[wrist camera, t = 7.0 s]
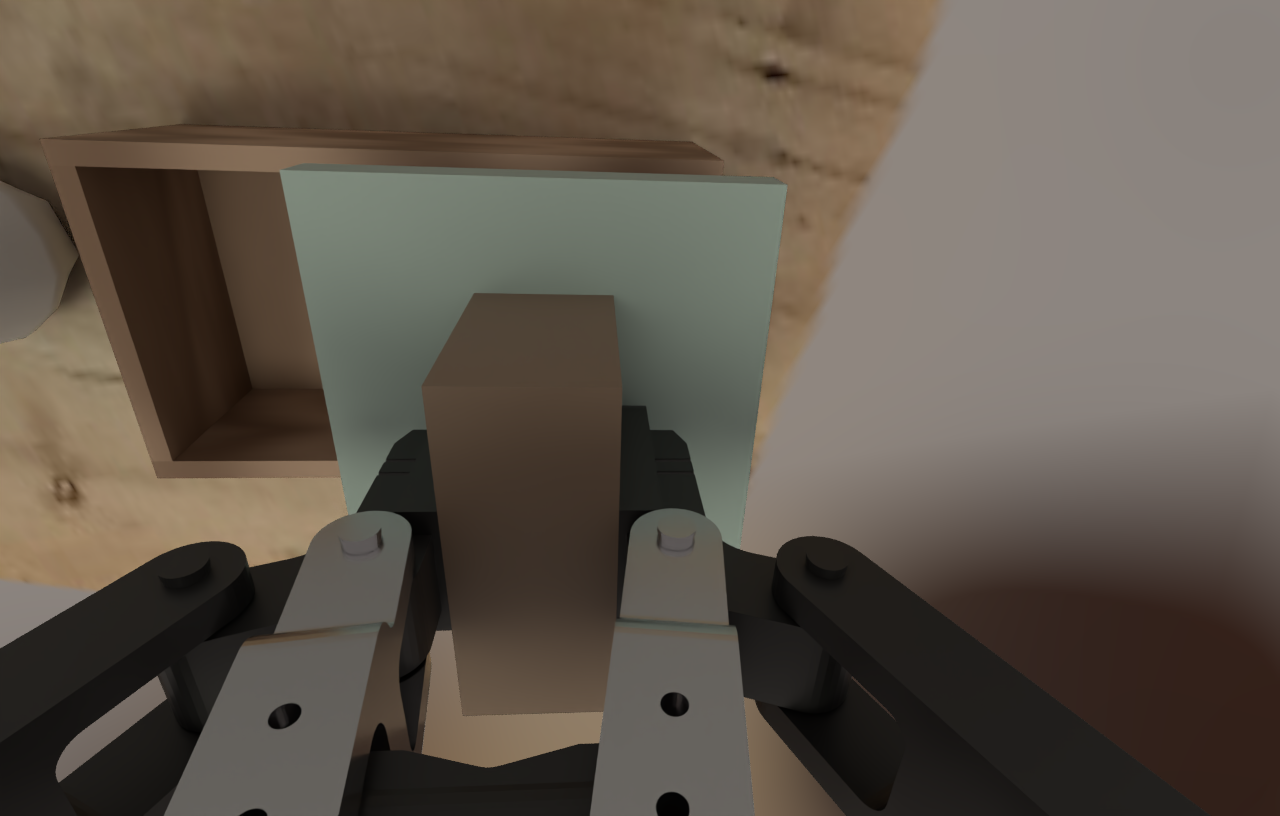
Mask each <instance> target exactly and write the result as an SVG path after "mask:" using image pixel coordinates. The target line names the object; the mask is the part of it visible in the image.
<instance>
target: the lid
mask: <svg viewBox="0 0 1280 816" xmlns="http://www.w3.org/2000/svg"><path fill="white" fill-rule="evenodd" d="M280 175H281V180H282V185H283V190H284V195H285V200H286V205H287V210H288V215H289V220H290V225H291V230H292V235H293V240H294V245H295V250H296V255H297V260H298V265H299V270H300V275H301V280H302V285H303V290H304V295H305V300H306V305H307V310H308V315H309V320H310V325H311V330H312V335H313V340H314V345H315V350H316V355H317V360H318V365H319V370H320V375H321V380H322V385H323V390H324V395H325V400H326V405H327V410H328V415H329V420H330V425H331V430H332V435H333V440H334V445H335V450H336V455H337V460H338V465H339V470H340V475H341V480H342V485H343V490H344V495H345V500H346V505H347V510H348V515H351V514H355V513H356V512H357V510H358V508H359V507H360V505H361V503H362V501H363V499H364V498H365V496H366V494H367V492H368V490H369V488H370V487H371V485H372V483H373V481H374V479H375V478H376V476H377V475H379V470H380V468H381V467H382V465H383V463H384V462H386V458H387V456H388V454H389V452H390V450H391V448H392V447H393V445H394V443H395V442H397V441H398V440H399V439H401V438H402V437H404V436H405V435H406V434H408V433H409V432H410V431H412V430H427V436H428V444H429V452H430V460H431V468H432V476H433V484H434V491H435V499H436V507H437V515H438V523H439V531H440V539H441V547H442V555H443V563H444V571H445V579H446V587H447V595H448V603H449V611H450V619H451V627H452V634H453V642H454V650H455V658H456V666H457V674H458V682H459V690H460V698H461V706H462V714H463V716H477V715H507V714H508V715H510V714H542V713H574V712H604V704H605V697H606V689H607V682H608V674H609V667H610V659H611V651H612V644H613V636H614V629H615V623H616V610H617V572H618V534H619V495H620V457H621V419H622V405H630V406H646V408H647V414H648V421H649V427H650V430H673V431H674V432H675V433H676V434H678V435H679V436H680V437H681V438H682V439H683V440H684V441H685V442H686V443H687V446H688V450H689V454H690V458H691V462H692V466H693V469H694V474H695V477H696V481H697V485H698V489H699V493H700V497H701V501H702V504H703V508H704V512H705V516H706V518H708V519H710V520H711V521H712V522H713V523H714V524H715V525H716V526H717V527H718V528H719V530H720V532H721V536H722V541H724V542H725V543H727V544H729V545H731V546H733V547H735V548H737V549H740V544H741V535H742V529H743V521H744V514H745V505H746V498H747V491H748V483H749V475H750V468H751V460H752V452H753V445H754V437H755V430H756V422H757V414H758V407H759V399H760V391H761V384H762V376H763V369H764V361H765V353H766V346H767V338H768V330H769V323H770V315H771V307H772V300H773V292H774V285H775V277H776V269H777V262H778V254H779V246H780V239H781V231H782V224H783V216H784V208H785V201H786V193H787V184H785V183H783V182H781V181H779V180H778V179H776V178H774V177H751V176H717V175H684V174H651V173H617V172H584V171H551V170H517V169H484V168H451V167H417V166H384V165H351V164H317V163H302V164H299V165H295V166H292V167H288V168H285V169H281V170H280Z"/></svg>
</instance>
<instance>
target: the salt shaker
mask: <svg viewBox="0 0 1280 816" xmlns="http://www.w3.org/2000/svg"><path fill="white" fill-rule="evenodd" d="M78 256H79V253H78V251H77V250H76V248H75V246H74V245H73V243H72V241H71V240H70V238H69V236H68V234H67V233H66V231H65V229H64V228H63V226H62V224H61V223H60V221H59V219H58V218H57V216H56V214H55V213H54V211H53V209H52V208H51V206H50V204H49V202H48V201H46V200H44V199H41V198H39V197H37V196H34V195H32V194H29V193H27V192H25V191H22V190H20V189H18V188H15V187H13V186H11V185H9V184H6V183H4V182H2V181H0V343H4V342H9V341H13V340H17V339H22V338H26V337H27V336H28V335H30V334H31V333H33V332H34V331H35V330H37V329H38V328H39V327H40V326H41V325H42V324H43V323H44V322H45V321H46V320H47V319H48V318H49V317H50V316H51V315H52V314H53V313H54V312H55V310H56V309H57V308H58V307H59V304H60V301H61V298H62V295H63V292H64V289H65V286H66V283H67V280H68V277H69V274H70V272H71V270H72V268H73V266H74V264H75V262H76V260H77V258H78Z"/></svg>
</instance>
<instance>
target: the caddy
mask: <svg viewBox="0 0 1280 816" xmlns="http://www.w3.org/2000/svg"><path fill="white" fill-rule="evenodd" d="M40 142H41V145H42V148H43V151H44V154H45V157H46V160H47V162H48V165H49V168H50V171H51V174H52V177H53V180H54V183H55V185H56V188H57V191H58V194H59V197H60V200H61V203H62V206H63V208H64V211H65V214H66V217H67V220H68V223H69V226H70V229H71V231H72V234H73V237H74V240H75V243H76V246H77V249H78V251H79V254H80V257H81V260H82V263H83V266H84V269H85V272H86V274H87V277H88V280H89V283H90V286H91V289H92V292H93V295H94V297H95V300H96V303H97V306H98V309H99V312H100V315H101V318H102V320H103V323H104V326H105V329H106V332H107V335H108V338H109V341H110V343H111V346H112V349H113V352H114V355H115V358H116V361H117V364H118V366H119V369H120V372H121V375H122V378H123V381H124V384H125V387H126V389H127V392H128V395H129V398H130V401H131V404H132V407H133V410H134V412H135V415H136V418H137V421H138V424H139V427H140V430H141V433H142V435H143V438H144V441H145V444H146V447H147V450H148V453H149V456H150V458H151V461H152V464H153V467H154V470H155V473H156V476H157V478H308V477H341V475H340V470H339V465H338V460H337V455H336V450H335V445H334V440H333V435H332V430H331V425H330V420H329V415H328V410H327V405H326V400H325V395H324V390H323V385H322V380H321V375H320V370H319V365H318V360H317V355H316V350H315V345H314V340H313V335H312V330H311V325H310V320H309V315H308V310H307V305H306V300H305V295H304V290H303V285H302V280H301V275H300V270H299V265H298V260H297V255H296V250H295V245H294V240H293V235H292V230H291V225H290V220H289V215H288V210H287V205H286V200H285V195H284V190H283V185H282V180H281V175H280V170H281V169H285V168H288V167H292V166H295V165H299V164H302V163H317V164H351V165H384V166H417V167H451V168H484V169H517V170H551V171H584V172H617V173H651V174H684V175H717V176H723V168H724V161H723V160H722V159H720V158H718V157H717V156H715V155H713V154H711V153H710V152H708V151H706V150H705V149H703V148H701V147H700V146H698V145H696V144H695V143H693V142H680V141H651V140H622V139H593V138H564V137H535V136H506V135H477V134H448V133H419V132H390V131H361V130H332V129H303V128H274V127H245V126H216V125H187V124H179V125H169V126H159V127H149V128H140V129H130V130H120V131H111V132H101V133H91V134H82V135H72V136H62V137H53V138H43V139H40Z"/></svg>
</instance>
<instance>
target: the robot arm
mask: <svg viewBox="0 0 1280 816" xmlns="http://www.w3.org/2000/svg"><path fill="white" fill-rule="evenodd" d="M442 630H452V627H451V619H450V611H449V603H448V595H447V587H446V579H445V571H444V563H443V555H442V547H441V539H440V531H439V523H438V515H437V507H436V499H435V491H434V484H433V476H432V468H431V460H430V452H429V444H428V436H427V430H412V431H410V432H409V433H408V434H406V435H405V436H404V437H402V438H401V439H399V440H398V441H397V442H395V443H394V445H393V447H392V448H391V450H390V452H389V454H388V456H387V458H386V462H384V463H383V465H382V467H381V468H380V470H379V475H377V476H376V478H375V479H374V481H373V483H372V485H371V487H370V488H369V490H368V492H367V494H366V496H365V498H364V499H363V501H362V503H361V505H360V507H359V508H358V510H357V512H356V513H355V514H351V515H348V516H344V517H342V518H340V519H337V520H335V521H333V522H331V523H330V524H328V525H327V526H325V527H324V528H322V529H321V530H320V531H319V532H318V533H317V534H316V535H315V536H314V538H313V539H312V541H311V543H310V545H309V548H308V550H307V553H306V554H305V555H303V556H299V557H295V558H292V559H287V560H282V561H278V562H273V563H268V564H264V565H259V566H254V567H249V565H248V561H247V558H246V555H245V553H244V551H243V550H242V549H241V548H240V547H238V546H236V545H234V544H231V543H227V542H219V541H210V542H200V543H195V544H190V545H186V546H183V547H179V548H176V549H174V550H171V551H168V552H166V553H164V554H162V555H160V556H158V557H156V558H154V559H152V560H150V561H149V562H147V563H145V564H144V565H142V566H140V567H138V568H137V569H135V570H133V571H132V572H130V573H128V574H126V575H125V576H123V577H121V578H120V579H118V580H116V581H115V582H113V583H111V584H109V585H108V586H106V587H104V588H103V589H101V590H99V591H98V592H96V593H94V594H92V595H91V596H89V597H87V598H86V599H84V600H82V601H80V602H79V603H77V604H75V605H74V606H72V607H70V608H69V609H67V610H65V611H63V612H62V613H60V614H58V615H57V616H55V617H53V618H52V619H50V620H48V621H46V622H45V623H43V624H41V625H40V626H38V627H36V628H34V629H33V630H31V631H29V632H28V633H26V634H24V635H22V636H21V637H19V638H17V639H16V640H14V641H12V642H11V643H9V644H7V645H6V646H4V647H2V648H0V816H755V814H754V803H753V794H752V793H753V792H752V782H751V771H750V760H749V750H748V739H747V728H746V718H745V708H744V697H746V698H750V699H754V700H755V702H756V705H757V708H758V710H759V712H760V713H761V715H762V716H763V717H764V719H765V720H766V721H767V722H768V723H769V725H770V726H771V727H772V728H773V730H774V731H775V732H776V733H777V734H778V735H779V737H780V738H781V739H782V740H783V741H784V743H785V744H786V745H787V746H788V747H789V749H790V750H791V751H792V752H793V753H794V754H795V756H796V757H797V758H798V759H799V760H800V761H801V763H802V764H803V765H804V766H805V768H806V769H807V770H808V771H809V772H810V773H811V775H813V777H814V778H815V779H816V781H817V782H818V783H819V784H820V785H821V786H822V788H823V789H824V790H825V791H826V792H827V794H828V795H829V796H830V797H831V798H832V799H833V801H834V802H835V803H836V804H837V805H838V807H839V808H840V809H841V810H842V811H843V813H844V814H845V815H846V816H1210V815H1209V814H1208V813H1206V812H1205V811H1204V810H1202V809H1201V808H1200V807H1198V806H1197V805H1196V804H1194V803H1193V802H1192V801H1190V800H1189V799H1187V798H1186V797H1185V796H1184V795H1182V794H1181V793H1180V792H1178V791H1177V790H1176V789H1174V788H1173V787H1172V786H1170V785H1169V784H1168V783H1166V782H1165V781H1164V780H1162V779H1161V778H1160V777H1158V776H1157V775H1156V774H1154V773H1153V772H1152V771H1150V770H1149V769H1148V768H1146V767H1145V766H1144V765H1142V764H1141V763H1140V762H1138V761H1137V760H1136V759H1134V758H1133V757H1132V756H1130V755H1129V754H1128V753H1126V752H1125V751H1124V750H1122V749H1121V748H1120V747H1118V746H1117V745H1116V744H1115V743H1113V742H1112V741H1110V740H1109V739H1108V738H1107V737H1105V736H1104V735H1103V734H1101V733H1100V732H1098V731H1097V730H1096V729H1095V728H1093V727H1092V726H1090V725H1089V724H1088V723H1087V722H1085V721H1084V720H1083V719H1081V718H1080V717H1079V716H1077V715H1076V714H1075V713H1073V712H1072V711H1071V710H1069V709H1068V708H1067V707H1065V706H1064V705H1062V704H1061V703H1060V702H1059V701H1057V700H1056V699H1055V698H1053V697H1052V696H1051V695H1049V694H1048V693H1047V692H1045V691H1044V690H1043V689H1041V688H1040V687H1039V686H1037V685H1036V684H1035V683H1033V682H1032V681H1031V680H1029V679H1028V678H1027V677H1025V676H1024V675H1023V674H1021V673H1020V672H1019V671H1017V670H1016V669H1015V668H1013V667H1012V666H1011V665H1009V664H1008V663H1007V662H1005V661H1004V660H1003V659H1001V658H1000V657H999V656H997V655H996V654H995V653H993V652H992V651H991V650H989V649H988V648H987V647H986V646H984V645H983V644H982V643H980V642H979V641H978V640H976V639H975V638H974V637H972V636H971V635H970V634H968V633H967V632H966V631H964V630H963V629H962V628H960V627H959V626H957V625H956V624H955V623H954V622H952V621H951V620H950V619H948V618H947V617H945V616H944V615H943V614H942V613H940V612H939V611H937V610H936V609H935V608H934V607H932V606H931V605H930V604H928V603H927V602H926V601H924V600H923V599H922V598H920V597H919V596H917V595H916V594H915V593H914V592H912V591H911V590H910V589H908V588H907V587H906V586H904V585H903V584H902V583H900V582H899V581H898V580H896V579H895V578H894V577H892V576H891V575H890V574H888V573H887V572H886V571H884V570H883V569H882V568H880V567H879V566H878V565H876V564H875V563H874V562H872V561H871V560H870V559H869V558H867V557H866V556H865V555H863V554H862V553H861V552H859V551H858V550H856V549H855V548H853V547H851V546H849V545H847V544H845V543H843V542H840V541H837V540H833V539H830V538H825V537H817V536H806V537H799V538H796V539H792V540H790V541H788V542H786V543H785V544H784V545H782V547H781V548H780V549H779V551H778V553H777V557H776V558H773V557H768V556H763V555H759V554H754V553H750V552H746V551H743V550H740V549H737V548H735V547H733V546H731V545H729V544H727V543H725V542H724V541H722V536H721V532H720V530H719V528H718V527H717V526H716V525H715V524H714V523H713V522H712V521H711V520H710V519H708V518H706V516H705V512H704V508H703V504H702V501H701V497H700V493H699V489H698V485H697V481H696V477H695V474H694V469H693V466H692V462H691V458H690V454H689V450H688V446H687V443H686V442H685V441H684V440H683V439H682V438H681V437H680V436H679V435H678V434H676V433H675V432H674V431H673V430H650V427H649V421H648V414H647V408H646V406H630V405H622V419H621V457H620V495H619V534H618V572H617V610H616V623H615V629H614V636H613V644H612V651H611V659H610V667H609V674H608V682H607V689H606V697H605V704H604V712H603V720H602V727H601V735H600V742H599V743H595V744H578V745H574V746H570V747H567V748H563V749H560V750H556V751H552V752H549V753H545V754H541V755H538V756H534V757H530V758H527V759H523V760H519V761H516V762H512V763H508V764H505V765H501V766H497V767H491V768H485V767H478V766H474V765H469V764H464V763H460V762H455V761H451V760H446V759H442V758H437V757H433V756H428V755H424V754H422V747H423V739H424V730H425V729H424V728H425V721H426V712H427V704H428V703H427V702H428V695H429V686H430V677H431V657H430V649H431V646H432V642H433V639H434V635H435V632H436V631H442ZM156 676H158V678H159V680H160V683H161V685H162V688H163V690H164V692H165V695H166V697H167V699H166V700H165V701H164V702H162V703H161V704H160V705H158V706H157V707H156V708H155V709H153V710H152V711H151V712H149V713H148V714H147V715H146V716H144V717H143V718H142V719H140V720H139V721H138V722H137V723H135V724H134V725H133V726H131V727H130V728H129V729H128V730H126V731H125V732H124V733H122V734H121V735H120V736H119V737H117V738H116V739H115V740H113V741H112V742H111V743H110V744H108V745H107V746H106V747H104V748H103V749H102V750H101V751H99V752H98V753H97V754H95V755H94V756H93V757H92V758H90V759H89V760H88V761H86V762H85V763H84V764H83V765H81V766H80V767H79V768H77V769H76V770H75V771H74V772H72V773H71V774H70V775H68V776H67V777H66V778H65V779H63V780H62V781H61V782H59V783H58V781H57V779H56V773H55V771H56V765H57V762H58V760H59V758H60V756H61V754H62V752H63V750H64V749H65V748H66V746H67V745H68V744H69V743H70V741H72V740H73V739H74V738H75V737H76V736H77V735H78V734H79V733H80V732H81V731H83V730H84V729H85V728H87V727H88V726H89V725H91V724H92V723H94V722H95V721H96V720H98V719H99V718H100V717H102V716H103V715H104V714H106V713H107V712H108V711H110V710H111V709H112V708H114V707H115V706H117V705H118V704H119V703H121V702H122V701H123V700H125V699H126V698H127V697H129V696H130V695H131V694H133V693H134V692H136V691H137V690H138V689H139V688H141V687H142V686H144V685H145V684H146V683H148V682H149V681H150V680H152V679H153V678H155V677H156ZM852 676H853V677H854V678H855V679H856V680H858V682H859V683H860V684H861V685H862V686H863V687H864V688H865V689H866V690H867V691H869V692H870V693H871V694H872V695H873V696H874V697H875V698H876V699H877V700H878V701H879V702H880V703H881V704H882V705H883V706H884V707H885V708H886V709H887V710H888V711H889V712H890V713H891V714H892V716H893V717H894V718H895V720H896V721H897V722H896V721H895V720H894V719H893V718H892V717H891V716H890V715H889V714H888V713H887V712H886V711H885V710H884V709H883V708H882V707H881V706H880V705H879V704H878V703H877V702H875V700H873V699H872V698H871V697H870V696H869V695H868V694H867V693H866V692H865V691H864V690H863V689H862V688H861V687H860V686H859V685H858V684H857V683H856V682H855V681H854V680H853V679H852Z"/></svg>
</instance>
